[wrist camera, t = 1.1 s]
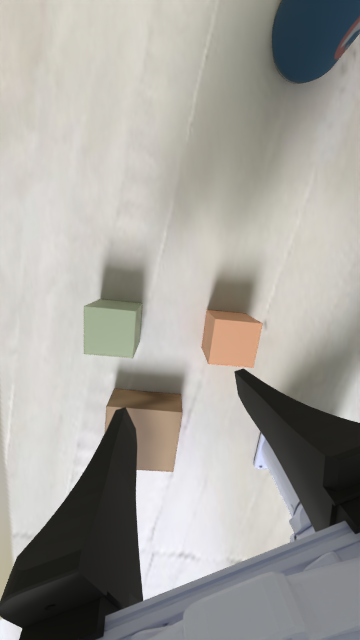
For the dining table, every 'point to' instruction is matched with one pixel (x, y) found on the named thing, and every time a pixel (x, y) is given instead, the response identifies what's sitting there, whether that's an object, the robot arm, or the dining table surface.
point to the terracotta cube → (230, 338)
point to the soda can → (312, 36)
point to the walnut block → (151, 425)
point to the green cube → (112, 328)
